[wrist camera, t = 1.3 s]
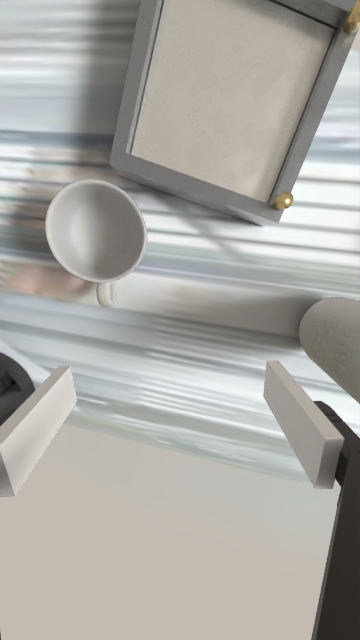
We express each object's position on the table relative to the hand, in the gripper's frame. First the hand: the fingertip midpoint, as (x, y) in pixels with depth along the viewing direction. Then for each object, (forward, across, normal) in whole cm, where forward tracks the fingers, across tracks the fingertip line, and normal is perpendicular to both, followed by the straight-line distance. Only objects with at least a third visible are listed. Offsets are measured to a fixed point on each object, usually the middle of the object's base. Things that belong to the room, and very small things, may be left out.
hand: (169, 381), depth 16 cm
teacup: (+22, -8, +8) cm, 25 cm away
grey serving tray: (+21, +6, +24) cm, 32 cm away
